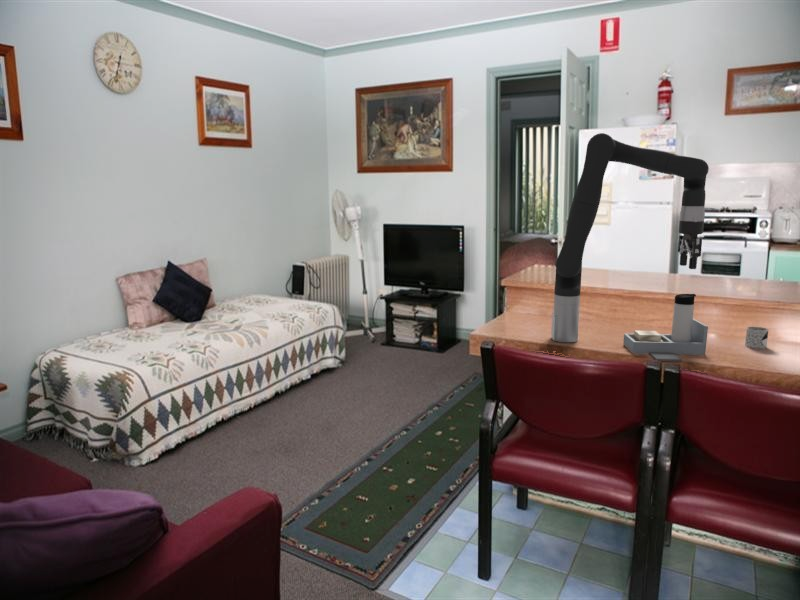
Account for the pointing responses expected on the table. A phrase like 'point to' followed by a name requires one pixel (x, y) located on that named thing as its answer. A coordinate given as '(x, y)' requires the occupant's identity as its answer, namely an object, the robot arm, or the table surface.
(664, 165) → the robot arm
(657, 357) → the mat
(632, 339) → the tray
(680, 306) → the travel mug
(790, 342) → the table surface
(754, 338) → the notched grey stone block
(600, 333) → the table surface
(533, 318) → the table surface
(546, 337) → the table surface
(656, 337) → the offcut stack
